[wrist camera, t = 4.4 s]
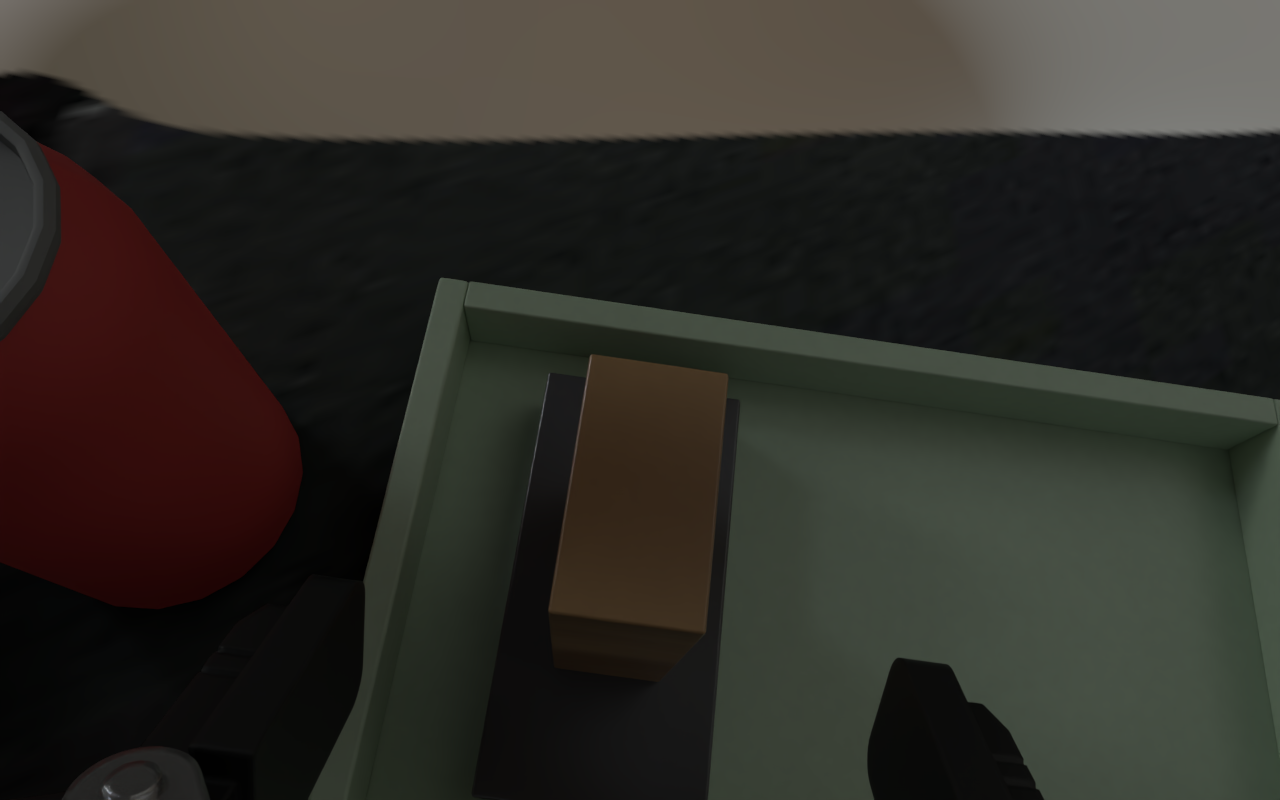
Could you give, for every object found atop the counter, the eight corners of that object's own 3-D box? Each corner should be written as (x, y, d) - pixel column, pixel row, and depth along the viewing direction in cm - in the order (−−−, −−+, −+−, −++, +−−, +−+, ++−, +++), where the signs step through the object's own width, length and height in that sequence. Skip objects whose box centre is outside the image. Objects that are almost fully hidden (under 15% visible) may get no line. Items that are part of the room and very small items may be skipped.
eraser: (693, 824, 20) (781, 855, 12) (478, 795, 20) (419, 807, 12) (727, 427, 24) (811, 246, 16) (549, 401, 24) (541, 206, 16)
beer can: (344, 407, 25) (166, 109, 14) (253, 640, 22) (-58, 503, 11) (119, 354, 25) (-237, 17, 14) (1, 581, 22) (-557, 385, 11)
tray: (319, 885, 20) (281, 901, 17) (452, 328, 26) (438, 275, 23) (1320, 1014, 21) (1436, 1051, 18) (1226, 441, 26) (1302, 402, 24)
